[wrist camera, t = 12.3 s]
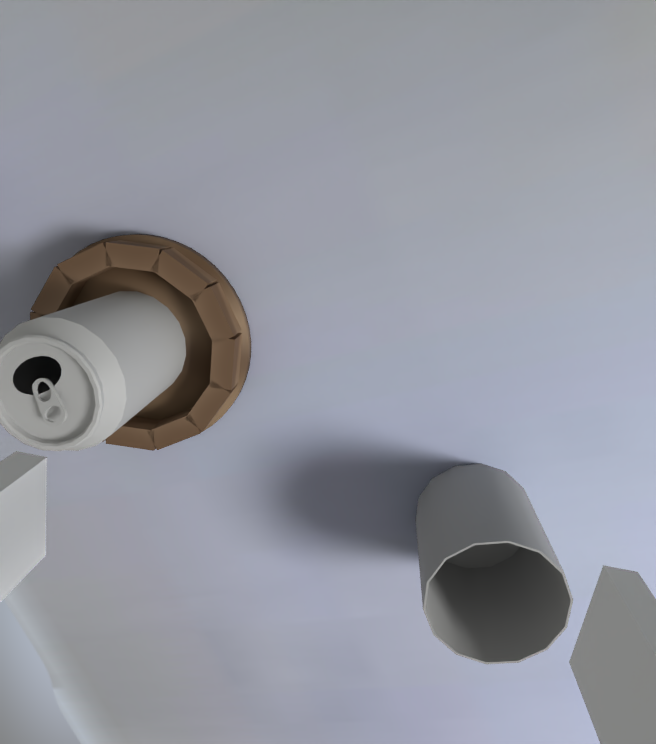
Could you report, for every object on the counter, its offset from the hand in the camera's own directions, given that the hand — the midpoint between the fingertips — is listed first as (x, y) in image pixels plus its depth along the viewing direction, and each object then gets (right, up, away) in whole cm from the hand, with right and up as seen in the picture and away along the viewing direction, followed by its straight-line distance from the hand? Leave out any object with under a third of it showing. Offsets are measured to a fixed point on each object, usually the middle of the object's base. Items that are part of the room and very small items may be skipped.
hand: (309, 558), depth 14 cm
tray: (-12, +7, +28) cm, 31 cm away
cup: (+11, -6, +29) cm, 32 cm away
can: (-13, +7, +27) cm, 31 cm away
